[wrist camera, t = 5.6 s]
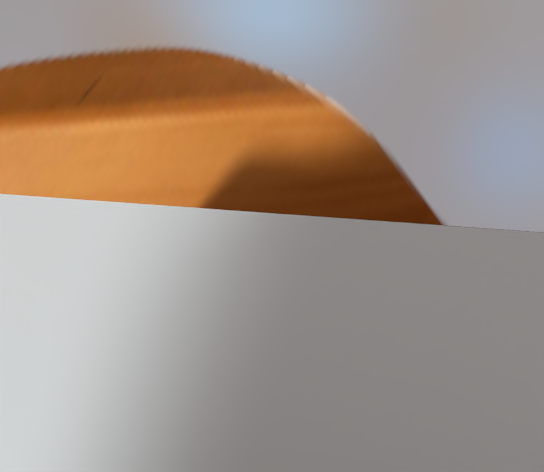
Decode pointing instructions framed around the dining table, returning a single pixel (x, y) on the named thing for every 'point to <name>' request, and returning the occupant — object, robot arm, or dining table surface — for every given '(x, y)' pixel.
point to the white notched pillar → (265, 342)
